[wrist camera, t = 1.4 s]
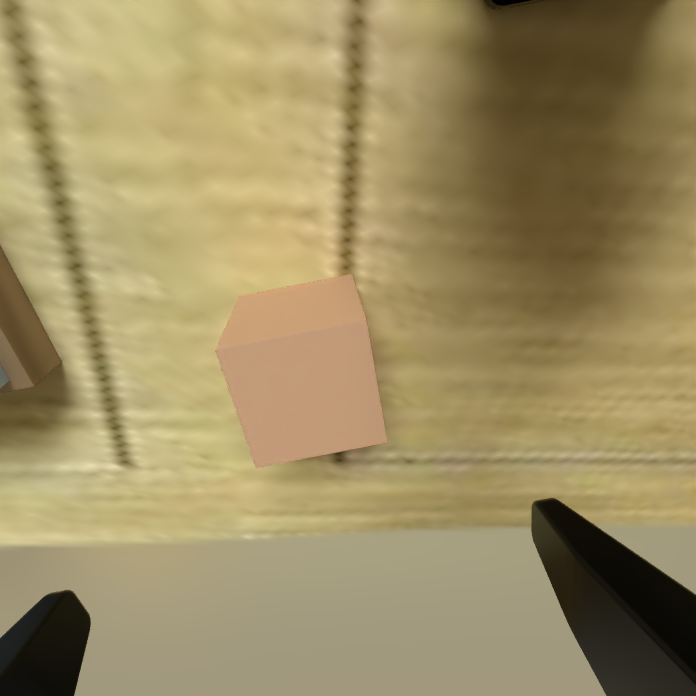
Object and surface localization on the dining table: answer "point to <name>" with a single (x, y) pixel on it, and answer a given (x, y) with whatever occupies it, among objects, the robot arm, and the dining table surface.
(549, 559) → the robot arm
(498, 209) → the dining table surface
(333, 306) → the clay block
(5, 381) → the blue slab
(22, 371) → the walnut slab
